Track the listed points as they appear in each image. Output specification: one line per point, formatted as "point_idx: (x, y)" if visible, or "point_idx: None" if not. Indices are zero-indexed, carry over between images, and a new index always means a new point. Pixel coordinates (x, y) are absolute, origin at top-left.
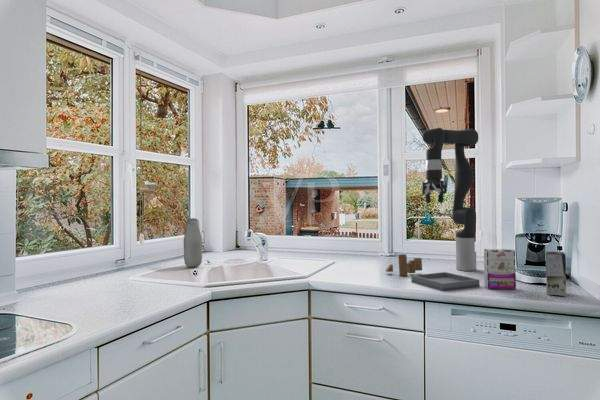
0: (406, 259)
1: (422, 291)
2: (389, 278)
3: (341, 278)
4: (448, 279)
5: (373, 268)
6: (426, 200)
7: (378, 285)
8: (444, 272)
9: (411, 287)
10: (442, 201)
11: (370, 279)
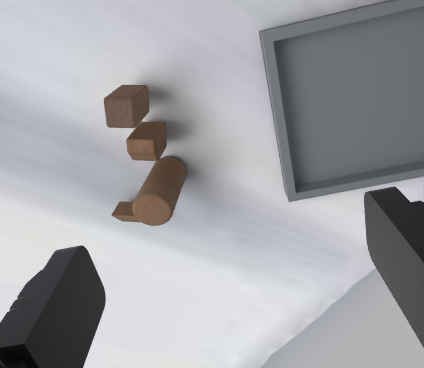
0: (169, 189)
1: None
2: (211, 233)
3: (182, 348)
4: (326, 60)
5: (5, 216)
6: (89, 327)
7: (302, 294)
8: (271, 45)
9: (359, 225)
10: (397, 196)
11: (214, 287)
